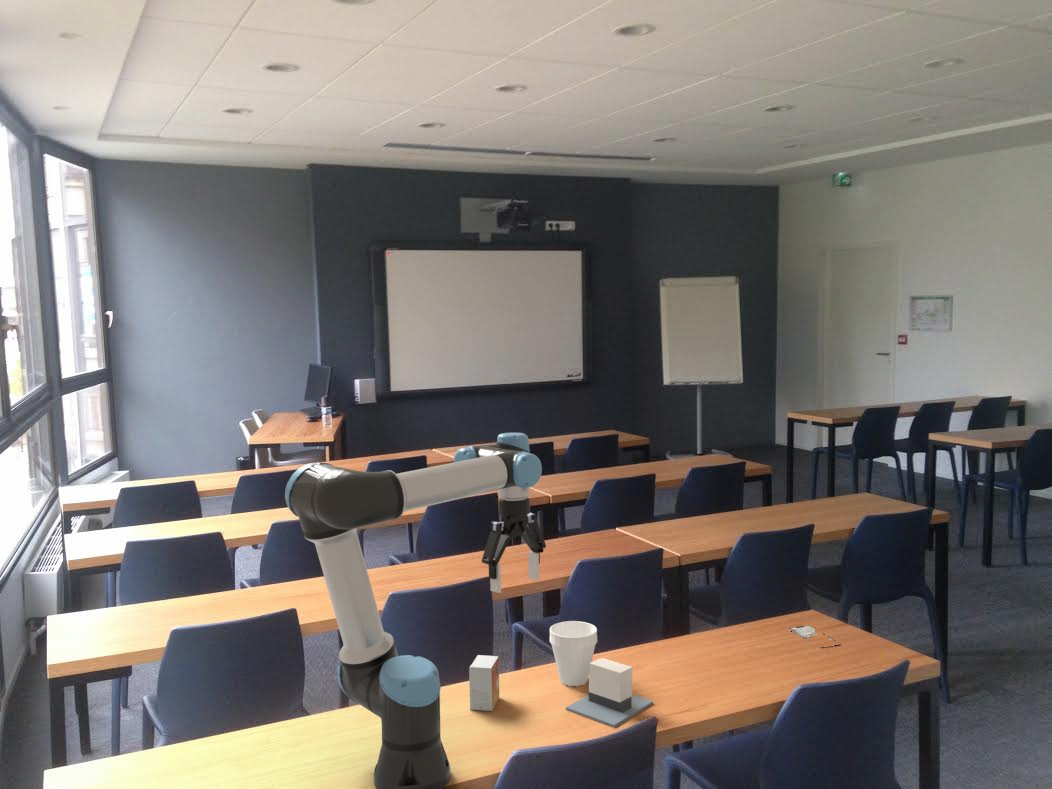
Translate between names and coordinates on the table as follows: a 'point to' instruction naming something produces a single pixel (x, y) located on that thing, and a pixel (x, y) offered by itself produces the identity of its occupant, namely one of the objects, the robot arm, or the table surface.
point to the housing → (610, 679)
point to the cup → (573, 650)
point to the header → (608, 708)
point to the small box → (484, 682)
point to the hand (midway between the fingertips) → (515, 585)
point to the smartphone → (805, 631)
